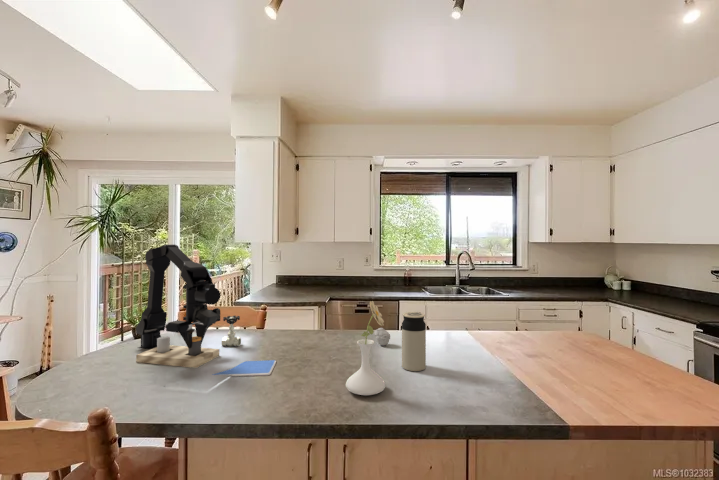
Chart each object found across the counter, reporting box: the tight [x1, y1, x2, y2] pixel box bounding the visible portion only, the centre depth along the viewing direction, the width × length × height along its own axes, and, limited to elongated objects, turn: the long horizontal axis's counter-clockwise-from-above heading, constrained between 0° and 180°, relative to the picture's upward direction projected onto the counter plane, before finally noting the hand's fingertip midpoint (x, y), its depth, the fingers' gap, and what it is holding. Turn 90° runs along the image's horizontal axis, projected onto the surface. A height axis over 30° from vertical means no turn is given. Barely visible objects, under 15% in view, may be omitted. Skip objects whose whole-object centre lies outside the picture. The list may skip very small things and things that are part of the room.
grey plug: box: [157, 336, 171, 353], centre depth 120 cm, size 4×4×7 cm
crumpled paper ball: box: [373, 327, 391, 346], centre depth 137 cm, size 6×7×7 cm
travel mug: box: [401, 311, 427, 372], centre depth 113 cm, size 8×8×18 cm
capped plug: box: [188, 335, 202, 356], centre depth 117 cm, size 4×4×7 cm
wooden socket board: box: [135, 344, 220, 369], centre depth 119 cm, size 24×12×3 cm, turn 77°
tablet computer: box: [211, 359, 277, 378], centre depth 111 cm, size 19×13×1 cm, turn 94°
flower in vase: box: [345, 300, 387, 396], centre depth 96 cm, size 13×11×25 cm
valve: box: [221, 315, 242, 348], centre depth 134 cm, size 7×7×12 cm
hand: (194, 346), depth 117 cm, fingers open, 4 cm apart
